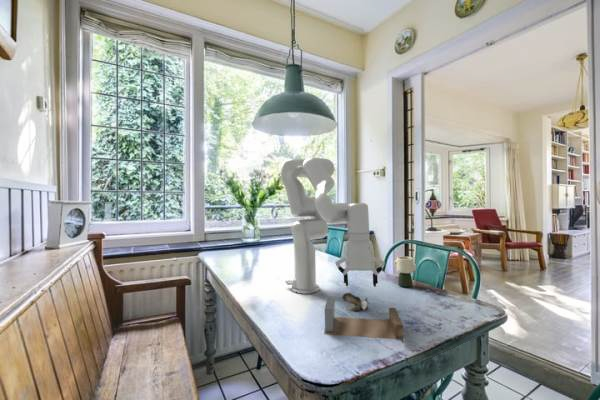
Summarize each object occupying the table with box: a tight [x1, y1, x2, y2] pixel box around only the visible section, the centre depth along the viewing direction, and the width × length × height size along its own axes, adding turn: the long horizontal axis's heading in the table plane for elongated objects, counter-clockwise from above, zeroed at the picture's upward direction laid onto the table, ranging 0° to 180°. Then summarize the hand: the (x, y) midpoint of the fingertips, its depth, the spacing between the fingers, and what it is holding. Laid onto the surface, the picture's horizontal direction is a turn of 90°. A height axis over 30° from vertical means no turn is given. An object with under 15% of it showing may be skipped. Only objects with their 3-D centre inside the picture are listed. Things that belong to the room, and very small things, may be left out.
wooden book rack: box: [323, 307, 404, 344], centre depth 84 cm, size 22×12×6 cm, turn 80°
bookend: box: [324, 296, 336, 333], centre depth 86 cm, size 2×10×7 cm, turn 170°
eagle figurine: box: [341, 292, 370, 313], centre depth 99 cm, size 8×7×9 cm
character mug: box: [394, 256, 417, 287], centre depth 127 cm, size 11×7×13 cm, turn 35°
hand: (360, 285), depth 99 cm, fingers open, 9 cm apart
